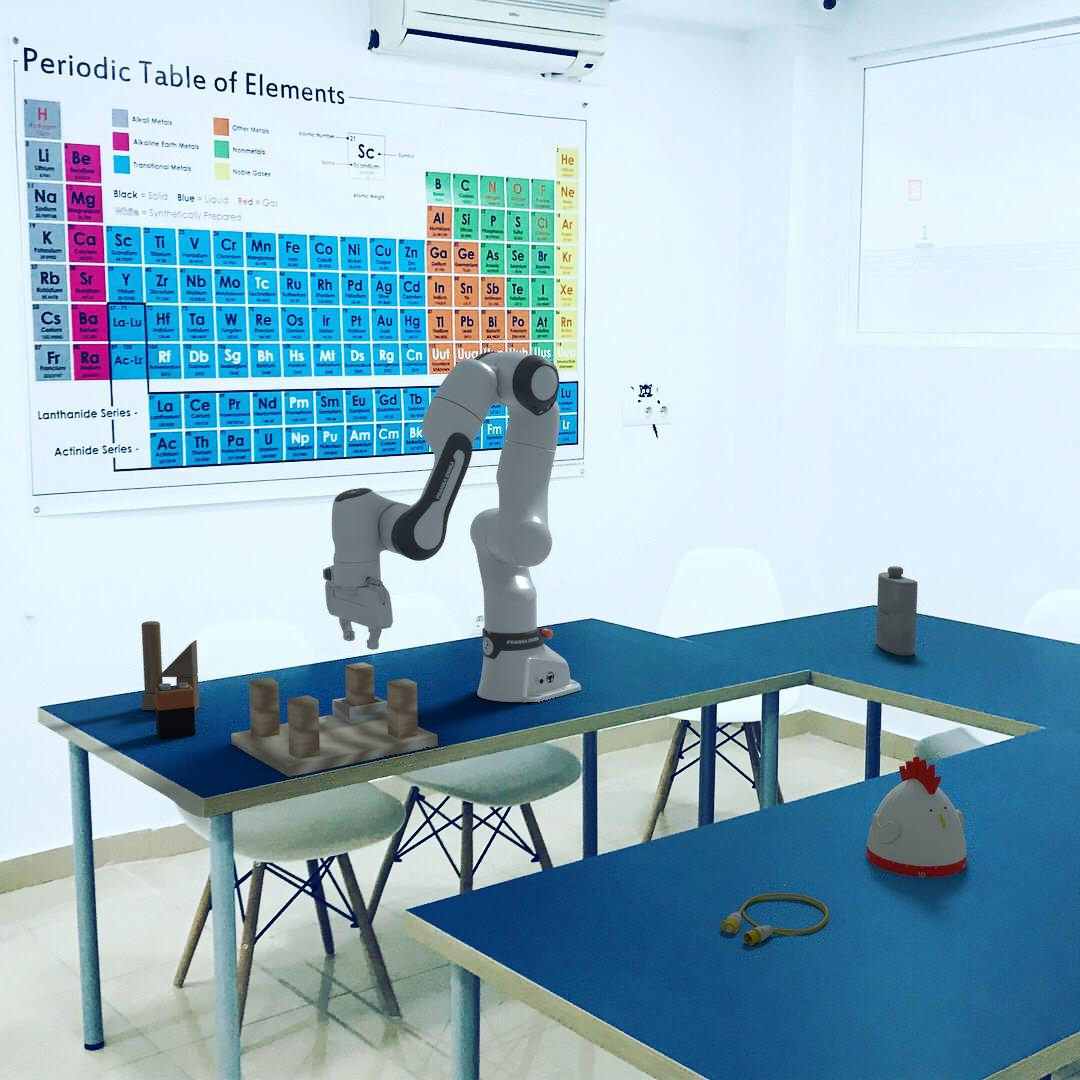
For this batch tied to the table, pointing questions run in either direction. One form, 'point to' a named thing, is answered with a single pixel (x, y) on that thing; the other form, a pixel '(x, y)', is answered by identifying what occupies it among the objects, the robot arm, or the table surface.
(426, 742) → the stone peg stand
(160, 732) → the battery
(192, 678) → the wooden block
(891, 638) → the flask
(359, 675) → the oak leg
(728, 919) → the extension cord
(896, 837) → the kitchen timer
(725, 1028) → the table surface
